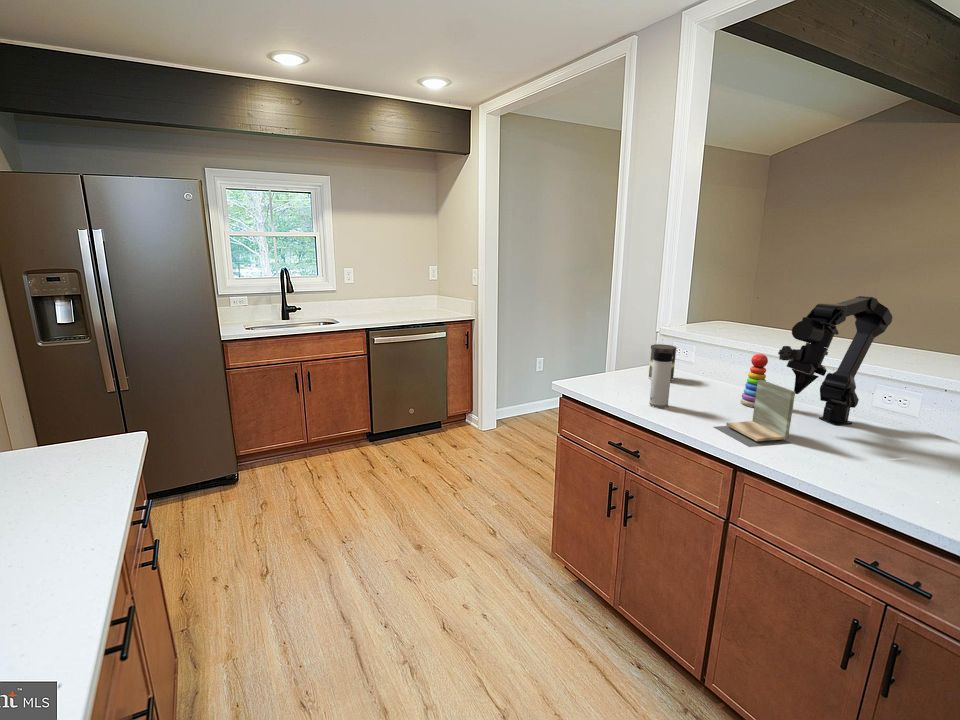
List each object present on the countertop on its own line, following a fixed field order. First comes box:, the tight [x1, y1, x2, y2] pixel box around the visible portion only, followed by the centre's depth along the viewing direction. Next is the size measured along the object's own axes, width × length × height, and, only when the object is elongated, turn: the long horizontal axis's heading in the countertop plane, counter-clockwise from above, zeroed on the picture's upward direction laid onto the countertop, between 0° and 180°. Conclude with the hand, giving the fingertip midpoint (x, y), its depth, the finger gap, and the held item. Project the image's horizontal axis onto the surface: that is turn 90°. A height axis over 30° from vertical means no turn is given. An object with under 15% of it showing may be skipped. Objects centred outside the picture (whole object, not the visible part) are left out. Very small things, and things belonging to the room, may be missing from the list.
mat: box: [713, 425, 793, 448], centre depth 146 cm, size 14×16×1 cm
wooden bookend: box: [726, 380, 796, 442], centre depth 144 cm, size 10×13×15 cm
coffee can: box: [648, 343, 678, 381], centre depth 208 cm, size 10×10×14 cm
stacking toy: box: [739, 353, 769, 408], centre depth 173 cm, size 8×8×19 cm
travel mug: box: [648, 351, 673, 409], centre depth 171 cm, size 6×7×20 cm
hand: (795, 393), depth 149 cm, fingers closed
